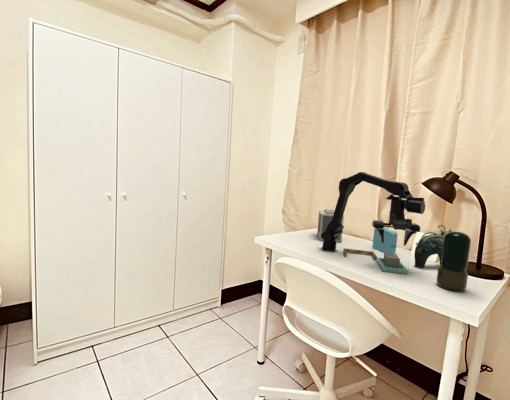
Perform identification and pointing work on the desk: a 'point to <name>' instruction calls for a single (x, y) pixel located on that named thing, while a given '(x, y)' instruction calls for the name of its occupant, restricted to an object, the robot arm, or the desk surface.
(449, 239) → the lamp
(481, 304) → the desk surface
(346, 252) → the grey brown u-shaped piece
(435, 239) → the travel neck pillow
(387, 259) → the grey brown block
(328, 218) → the alarm clock
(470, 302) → the desk surface
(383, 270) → the tray
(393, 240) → the data package
